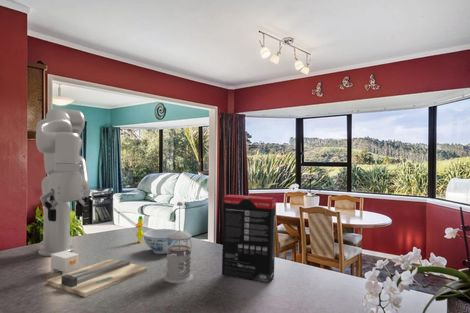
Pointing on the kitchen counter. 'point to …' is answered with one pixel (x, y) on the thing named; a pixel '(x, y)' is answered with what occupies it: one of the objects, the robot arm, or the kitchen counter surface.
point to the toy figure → (139, 226)
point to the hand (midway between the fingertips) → (66, 218)
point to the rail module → (64, 262)
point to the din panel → (96, 277)
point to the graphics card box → (249, 237)
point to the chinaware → (159, 240)
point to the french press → (178, 257)
